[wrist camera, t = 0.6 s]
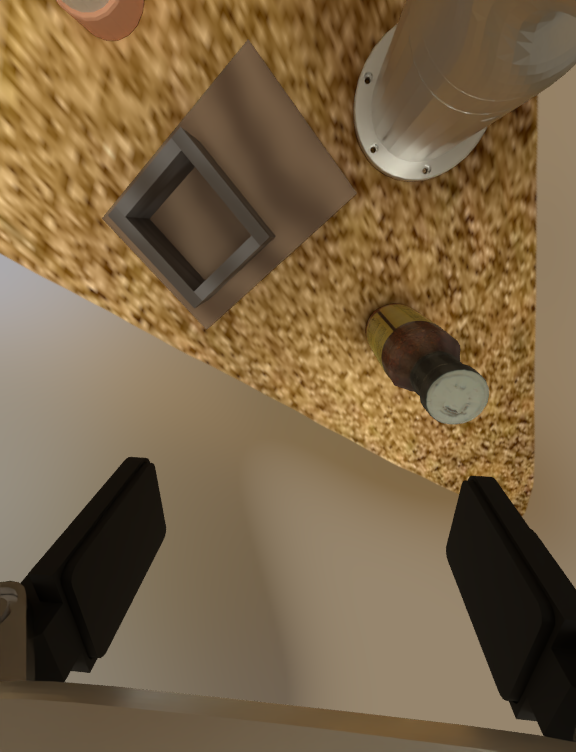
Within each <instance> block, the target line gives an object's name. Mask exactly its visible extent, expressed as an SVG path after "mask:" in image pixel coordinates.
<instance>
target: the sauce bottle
mask: <svg viewBox="0 0 576 752" xmlns="http://www.w3.org/2000/svg"><path fill="white" fill-rule="evenodd" d="M366 335H367V341H368V344H369V346H370V347H371V349H372V351H373V352H374V354H375V356H376V358H377V359H378V361H379V363H380V364H381V366H382V368H383V369H384V371H385V373H386V374H387V375H388V377H389V378H390V379H391V380H392V382H393V383H394V385H395V386H398V387H401V388H404V389H407V390H410V391H414V392H416V393H417V394H418V395H419V396H420V401H421V404H422V405H423V407H424V408H425V409H426V411H427V412H428V413H429V414H430V416H432V417H433V418H434V419H436V420H437V421H439V422H441V423H446V424H460V423H465V422H467V421H471V420H472V419H474V418H475V417H477V416H478V415H479V414H480V413H481V412H482V410H483V409H484V407H485V406H486V404H487V402H488V397H489V388H488V385H487V383H486V380H485V379H484V378H483V377H482V376H481V375H480V374H479V373H478V372H477V371H476V370H475V369H473V368H472V367H470V366H468V365H464V364H462V363H461V362H460V345H459V343H458V341H457V340H455V339H454V338H453V337H452V336H450V335H449V334H448V333H447V332H446V331H444V330H443V329H442V328H441V327H439V326H438V325H436V324H435V323H433V322H431V321H430V320H428V319H427V318H425V317H424V316H422V315H421V314H419V313H418V312H416V311H415V310H413V309H412V308H410V307H408V306H405V305H400V304H396V303H393V304H389V305H386V306H383V307H381V308H379V309H377V310H376V311H374V312H373V314H372V315H371V316H370V318H369V320H368V323H367V327H366Z"/></svg>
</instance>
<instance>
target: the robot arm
mask: <svg viewBox="0 0 576 752" xmlns="http://www.w3.org/2000/svg"><path fill="white" fill-rule="evenodd" d="M575 64H576V0H406V3H405V5H404V8H403V11H402V13H401V16H400V19H399V21H398V23H397V24H396V25H395V26H394V27H393V28H392V29H390V30H389V31H388V32H387V33H386V34H385V35H384V36H383V37H382V38H381V39H380V41H379V42H378V43H377V44H376V46H375V47H374V48H373V50H372V52H371V53H370V55H369V57H368V59H367V60H366V62H365V64H364V67H363V69H362V72H361V74H360V77H359V80H358V84H357V88H356V92H355V99H354V106H353V108H354V126H355V131H356V136H357V139H358V142H359V144H360V147H361V149H362V151H363V153H364V154H365V156H366V158H367V159H368V160H369V161H370V163H371V164H372V165H373V166H374V167H375V168H376V169H377V170H379V171H380V172H382V173H383V174H385V175H386V176H389V177H391V178H394V179H396V180H401V181H407V182H413V181H423V180H427V179H431V178H434V177H436V176H439V175H441V174H443V173H445V172H446V171H448V170H450V169H452V168H453V167H455V166H456V165H457V164H458V163H460V162H461V161H462V160H463V159H464V158H466V157H467V155H468V154H469V153H470V152H471V151H472V150H473V148H474V147H475V146H476V145H477V143H478V142H479V140H480V139H481V137H482V136H483V134H484V132H485V131H486V128H487V126H489V125H490V124H492V123H493V122H495V121H496V120H498V119H500V118H501V117H503V116H504V115H506V114H508V113H509V112H511V111H512V110H514V109H516V108H517V107H519V106H520V105H522V104H523V103H525V102H527V101H528V100H529V99H531V98H532V97H534V96H536V95H537V94H539V93H540V92H542V91H543V90H545V89H546V88H548V87H549V86H551V85H552V84H553V83H554V82H556V81H557V80H558V79H559V78H561V77H562V76H563V75H564V74H566V73H567V72H568V71H569V70H570V69H571V68H572V67H573V66H574V65H575ZM366 79H369V80H370V83H369V84H366V83H365V80H366ZM371 148H375V153H371V151H370V149H371ZM424 168H425V169H426V170H427V172H426V174H423V173H422V170H423V169H424ZM165 533H166V524H165V520H164V514H163V508H162V502H161V497H160V492H159V486H158V481H157V475H156V470H155V466H154V464H153V463H150V461H149V459H147V458H138V457H128V458H127V459H126V460H125V461H124V462H123V463H122V464H121V465H120V467H119V468H118V469H117V470H116V471H115V472H114V474H113V475H112V476H111V477H110V478H109V479H108V481H107V482H106V483H105V484H104V485H103V487H102V488H101V489H100V490H99V491H98V492H97V494H96V495H95V496H94V497H93V498H92V500H91V501H90V502H89V503H88V504H87V505H86V506H85V508H84V509H83V510H82V511H81V512H80V514H79V515H78V516H77V517H76V518H75V519H74V521H73V522H72V523H71V524H70V525H69V526H68V528H67V529H66V530H65V531H64V533H63V534H62V535H61V536H60V537H59V538H58V539H57V540H56V542H55V543H54V544H53V545H52V546H51V548H50V549H49V550H48V551H47V552H46V553H45V555H44V556H43V557H42V558H41V559H40V560H39V562H38V563H37V564H36V565H35V566H34V567H33V569H32V570H31V571H30V572H29V573H28V575H27V576H26V577H25V579H24V580H23V581H22V582H21V583H19V582H14V581H6V582H0V752H576V589H575V588H574V586H573V585H572V583H571V582H570V581H569V579H568V578H567V576H566V575H565V574H564V572H563V571H562V569H561V568H560V567H559V565H558V564H557V562H556V561H555V560H554V558H553V557H552V555H551V554H550V553H549V551H548V550H547V548H546V547H545V546H544V544H543V543H542V541H541V540H540V539H539V538H538V536H537V534H536V533H535V532H534V531H533V530H532V529H530V528H529V527H528V525H527V524H526V522H525V521H524V519H523V518H522V516H521V515H520V514H519V512H518V511H517V509H516V508H515V507H514V505H513V504H512V502H511V501H510V499H509V498H508V497H507V495H506V494H505V492H504V491H503V490H502V488H501V487H500V485H499V484H498V482H497V481H496V480H495V479H494V478H493V477H484V476H470V477H469V479H468V481H463V483H462V486H461V490H460V494H459V498H458V502H457V506H456V510H455V514H454V518H453V522H452V526H451V530H450V534H449V538H448V542H447V546H446V555H447V559H448V562H449V565H450V567H451V570H452V572H453V575H454V578H455V580H456V583H457V585H458V588H459V590H460V593H461V596H462V598H463V601H464V603H465V606H466V609H467V611H468V614H469V616H470V619H471V622H472V624H473V627H474V629H475V632H476V634H477V637H478V640H479V642H480V645H481V647H482V650H483V653H484V655H485V658H486V660H487V662H488V665H489V668H490V671H491V673H492V676H493V678H494V681H495V684H496V686H497V689H498V691H499V693H500V695H501V697H502V698H503V699H504V700H506V701H509V702H510V705H511V707H512V710H513V712H514V715H515V717H516V719H521V720H531V721H537V722H538V724H539V727H540V729H541V731H542V733H543V735H544V736H539V735H532V734H525V733H518V732H510V731H503V730H495V729H489V728H481V727H474V726H466V725H459V724H450V723H442V722H433V721H424V720H415V719H407V718H399V717H390V716H382V715H373V714H364V713H355V712H347V711H338V710H329V709H320V708H311V707H301V706H293V705H284V704H275V703H266V702H257V701H248V700H238V699H229V698H220V697H211V696H200V695H191V694H182V693H173V692H163V691H153V690H144V689H133V688H125V687H114V686H103V685H90V684H78V683H66V682H65V680H66V678H67V677H68V675H69V673H70V671H78V672H87V673H90V672H91V670H92V668H93V666H94V664H95V662H96V660H97V658H101V657H103V656H104V655H105V653H106V652H107V650H108V648H109V646H110V644H111V642H112V640H113V638H114V636H115V634H116V632H117V630H118V628H119V626H120V624H121V622H122V620H123V618H124V616H125V614H126V613H127V610H128V608H129V607H130V605H131V603H132V601H133V599H134V596H135V595H136V593H137V591H138V589H139V587H140V585H141V583H142V581H143V579H144V577H145V575H146V573H147V571H148V569H149V567H150V565H151V563H152V561H153V559H154V557H155V555H156V553H157V551H158V549H159V548H160V546H161V544H162V542H163V539H164V537H165Z"/></svg>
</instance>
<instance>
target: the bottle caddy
mask: <svg viewBox="0 0 576 752" xmlns="http://www.w3.org/2000/svg"><path fill="white" fill-rule="evenodd" d="M356 194H357V193H356V191H355V190H354V188H353V187H352V186H351V184H350V183H349V181H348V180H347V178H346V177H345V176H344V174H343V173H342V171H341V170H340V169H339V167H338V166H337V164H336V163H335V161H334V160H333V159H332V157H331V156H330V154H329V153H328V152H327V150H326V149H325V147H324V146H323V144H322V143H321V142H320V140H319V139H318V137H317V136H316V135H315V133H314V132H313V130H312V129H311V127H310V126H309V125H308V123H307V122H306V120H305V119H304V118H303V116H302V115H301V113H300V112H299V110H298V109H297V108H296V106H295V105H294V103H293V102H292V101H291V99H290V98H289V96H288V95H287V93H286V92H285V91H284V89H283V88H282V86H281V85H280V84H279V82H278V81H277V79H276V78H275V76H274V75H273V74H272V72H271V71H270V69H269V68H268V67H267V65H266V64H265V62H264V61H263V60H262V58H261V57H260V55H259V54H258V52H257V51H256V50H255V48H254V47H253V45H252V44H251V43H250V41H249V40H247V41H246V42H245V44H244V45H243V46H242V47H241V49H240V50H239V51H238V52H237V53H236V55H235V56H234V57H233V58H232V60H231V61H230V62H229V63H228V65H227V66H226V67H225V68H224V69H223V71H222V72H221V73H220V74H219V76H218V77H217V78H216V79H215V80H214V82H213V83H212V84H211V85H210V87H209V88H208V89H207V90H206V92H205V93H204V94H203V95H202V96H201V98H200V99H199V100H198V101H197V103H196V104H195V105H194V106H193V107H192V109H191V110H190V111H189V112H188V114H187V115H186V116H185V117H184V119H183V120H182V121H181V122H180V123H179V125H178V126H177V127H176V128H175V130H174V131H173V132H172V133H171V134H170V136H169V137H168V138H167V139H166V141H165V142H164V143H163V144H162V145H161V147H160V148H159V149H158V150H157V152H156V153H155V154H154V155H153V157H152V158H151V159H150V160H149V161H148V163H147V164H146V165H145V166H144V168H143V169H142V170H141V171H140V172H139V174H138V175H137V176H136V177H135V179H134V180H133V181H132V182H131V184H130V185H129V186H128V187H127V188H126V190H125V191H124V192H123V193H122V195H121V196H120V197H119V198H118V199H117V201H116V202H115V203H114V204H113V206H112V207H111V208H110V209H109V211H108V212H107V213H106V214H105V215H104V217H103V218H102V219H103V220H104V221H105V222H106V223H107V224H108V225H109V226H110V227H111V228H112V229H113V231H114V232H115V233H116V234H117V235H118V236H119V237H120V238H121V239H122V240H123V241H124V242H125V243H126V244H127V245H128V247H129V248H130V249H131V250H132V251H133V252H134V253H135V254H136V255H137V256H138V257H139V258H140V259H141V260H142V261H143V263H144V264H145V265H146V266H147V267H148V268H149V269H150V270H151V271H152V272H153V273H154V274H155V275H156V276H157V277H158V278H159V280H160V281H161V282H162V283H163V284H164V285H165V286H166V287H167V288H168V289H169V290H170V291H171V292H172V293H173V294H174V296H175V297H176V298H177V299H178V300H179V301H180V302H181V303H182V304H183V305H184V306H185V307H186V308H187V309H188V310H189V312H190V313H191V314H192V315H193V316H194V317H195V318H196V319H197V320H198V321H199V322H200V323H201V324H202V325H203V326H204V328H205V329H206V330H207V329H208V328H209V327H210V326H211V325H212V324H213V323H215V322H216V321H217V320H218V319H219V318H220V317H221V316H222V315H223V314H224V313H226V312H227V311H228V310H229V309H230V308H231V307H232V306H233V305H234V304H236V303H237V302H238V301H239V300H240V299H241V298H242V297H243V296H244V295H245V294H247V293H248V292H249V291H250V290H251V289H252V288H253V287H254V286H255V285H256V284H258V283H259V282H260V281H261V280H262V279H263V278H264V277H265V276H266V275H268V274H269V273H270V272H271V271H272V270H273V269H274V268H275V267H276V266H277V265H279V264H280V263H281V262H282V261H283V260H284V259H285V258H286V257H287V256H288V255H290V254H291V253H292V252H293V251H294V250H295V249H296V248H297V247H298V246H299V245H301V244H302V243H303V242H304V241H305V240H306V239H307V238H308V237H309V236H311V235H312V234H313V233H314V232H315V231H316V230H317V229H318V228H319V227H320V226H322V225H323V224H324V223H325V222H326V221H327V220H328V219H329V218H330V217H331V216H333V215H334V214H335V213H336V212H337V211H338V210H339V209H340V208H341V207H343V206H344V205H345V204H346V203H347V202H348V201H349V200H350V199H351V198H352V197H354V196H355V195H356Z"/></svg>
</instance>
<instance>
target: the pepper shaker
mask: <svg viewBox="0 0 576 752" xmlns="http://www.w3.org/2000/svg"><path fill="white" fill-rule="evenodd" d="M56 1H57V2H58V4H59V5H60V6H61V7H62V8H63V9H64V10H65V11H67V12H68V13H69V14H70V15H71V16H72V17H74V18H75V19H76V20H77V21H78V22H79V23H80V24H82V25H83V26H84V27H85V28H86V29H87V30H89V31H90V32H91V33H92V34H93V35H94V36H97V37H99V38H102V39H104V40H120V39H122V38H124V37H126V36H128V35H129V34H130V33H131V32H132V31H133V30H134V28H135V27H136V26H137V24H138V22H139V20H140V17H141V15H142V12H143V5H144V0H56Z"/></svg>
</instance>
